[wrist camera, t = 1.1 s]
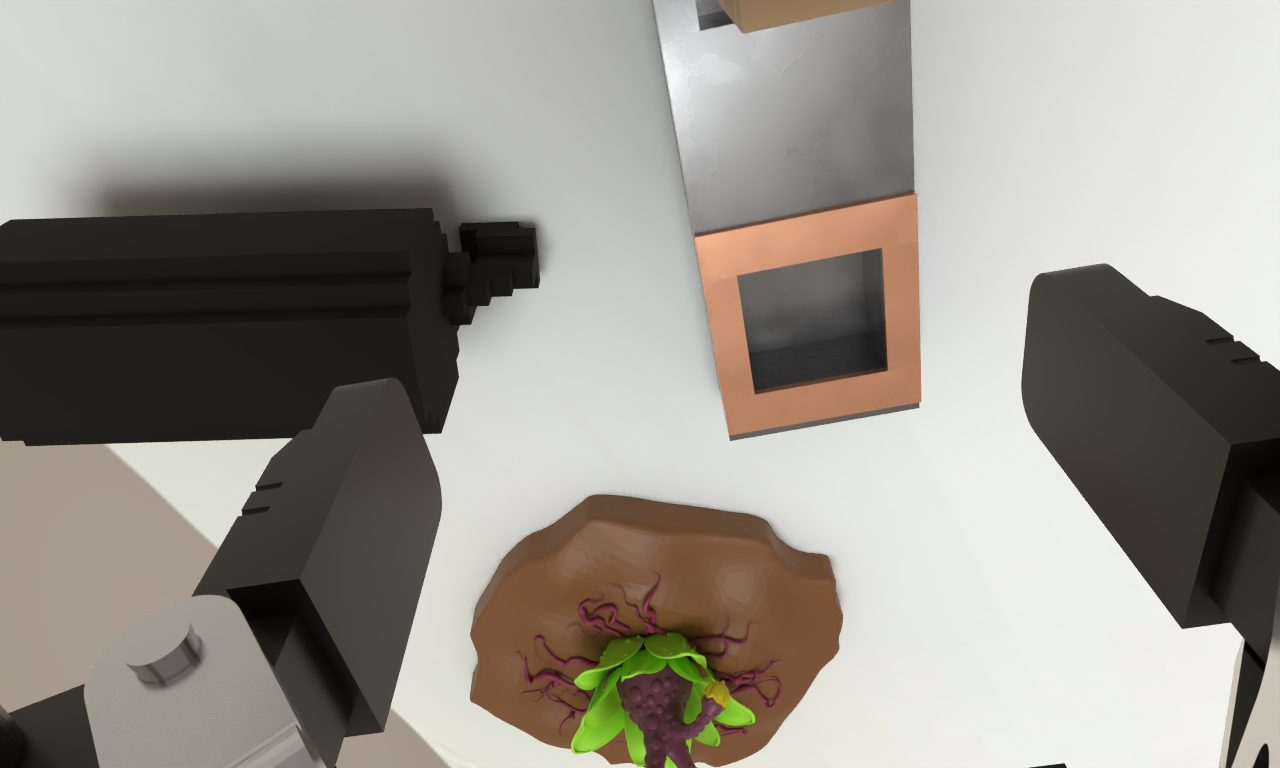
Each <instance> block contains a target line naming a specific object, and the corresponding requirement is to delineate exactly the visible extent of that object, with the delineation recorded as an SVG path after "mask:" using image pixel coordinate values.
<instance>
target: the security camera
mask: <svg viewBox="0 0 1280 768" xmlns="http://www.w3.org/2000/svg"><path fill="white" fill-rule="evenodd" d="M459 234H460V241H461V248H462V252H449V249H448V242H447V236H446V233H441V229H440V222H439V221H434V218H433V211H432V208H413V209H377V210H341V211H305V212H269V213H233V214H197V215H162V216H126V217H90V218H54V219H18V220H10V221H8V222H6V223H4V224H3V225H1V226H0V437H1V439H2V441H24V443H25V445H26V446H46V445H78V444H112V443H144V442H177V441H210V440H243V439H276V438H294V437H295V436H296V435H297V434H298V433H300V432H301V431H302V430H308V429H312V428H313V426H314V424H315V422H316V420H317V419H318V417H319V415H320V413H321V411H322V409H323V407H324V406H325V404H326V402H327V400H328V398H329V396H330V394H331V393H332V391H333V390H334V389H335V388H336V387H339V386H344V385H350V384H356V383H362V382H369V381H375V380H381V379H387V378H396V379H398V380H399V381H400V382H401V384H402V385H403V387H404V389H405V390H406V393H407V395H408V398H409V400H410V403H411V405H412V408H413V411H414V413H415V416H416V418H417V421H418V424H419V426H420V429H421V431H422V434H440V433H442V429H443V426H444V423H445V420H446V417H447V414H448V410H449V407H450V404H451V401H452V398H453V395H454V391H455V388H456V385H457V382H458V379H459V374H458V368H457V362H456V360H457V357H458V354H459V351H460V350H459V344H458V338H457V332H458V329H459V326H460V325H471V323H472V320H473V317H474V314H475V311H476V308H477V306H489V304H490V300H491V297H500V296H512V293H513V289H527V288H539V283H540V275H539V265H538V254H537V243H536V232H535V228H520V229H519V226H518V222H493V223H462V225H461V227H460V229H459Z"/></svg>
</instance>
